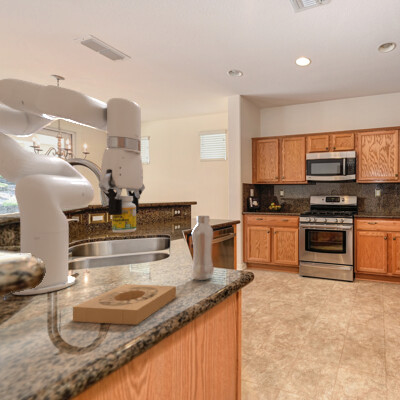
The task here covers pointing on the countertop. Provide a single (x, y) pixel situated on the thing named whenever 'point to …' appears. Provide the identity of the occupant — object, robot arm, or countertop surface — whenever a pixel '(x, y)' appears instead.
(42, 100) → the robot arm
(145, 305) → the socket pad
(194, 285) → the countertop surface
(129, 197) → the supplement bottle
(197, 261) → the plastic bottle
